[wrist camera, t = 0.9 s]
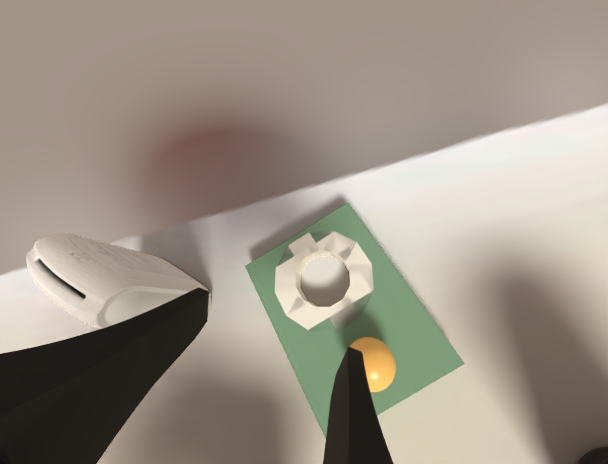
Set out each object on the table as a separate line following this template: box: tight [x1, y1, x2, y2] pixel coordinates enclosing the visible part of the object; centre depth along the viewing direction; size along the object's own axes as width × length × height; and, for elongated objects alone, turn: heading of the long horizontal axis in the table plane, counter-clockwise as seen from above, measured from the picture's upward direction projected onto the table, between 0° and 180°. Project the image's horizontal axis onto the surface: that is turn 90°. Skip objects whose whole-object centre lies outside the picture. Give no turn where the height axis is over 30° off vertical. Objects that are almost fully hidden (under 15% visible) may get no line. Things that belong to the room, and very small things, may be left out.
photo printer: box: [27, 234, 211, 329], centre depth 22 cm, size 10×4×12 cm, turn 61°
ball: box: [350, 337, 396, 392], centre depth 18 cm, size 4×4×4 cm
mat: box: [245, 203, 465, 438], centre depth 23 cm, size 16×12×2 cm
